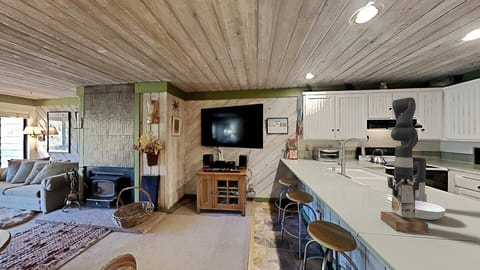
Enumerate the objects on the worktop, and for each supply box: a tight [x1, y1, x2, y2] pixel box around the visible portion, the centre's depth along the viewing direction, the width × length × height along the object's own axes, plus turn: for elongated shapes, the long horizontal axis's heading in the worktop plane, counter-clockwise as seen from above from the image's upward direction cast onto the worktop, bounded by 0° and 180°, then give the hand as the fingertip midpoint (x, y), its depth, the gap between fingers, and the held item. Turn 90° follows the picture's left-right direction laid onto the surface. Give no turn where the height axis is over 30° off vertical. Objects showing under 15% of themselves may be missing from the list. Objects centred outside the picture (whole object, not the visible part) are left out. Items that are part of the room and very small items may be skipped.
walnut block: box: [380, 211, 429, 235], centre depth 104 cm, size 14×14×5 cm
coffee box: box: [391, 181, 415, 218], centre depth 104 cm, size 9×6×16 cm
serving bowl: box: [415, 201, 447, 221], centre depth 117 cm, size 21×21×7 cm
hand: (403, 197), depth 104 cm, fingers closed on coffee box, 6 cm apart
